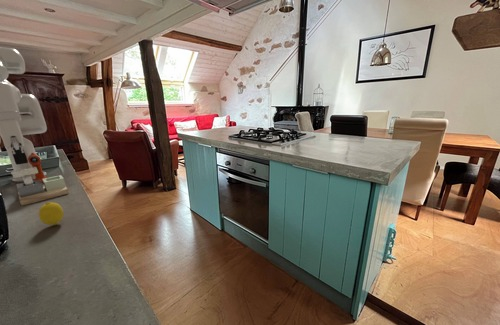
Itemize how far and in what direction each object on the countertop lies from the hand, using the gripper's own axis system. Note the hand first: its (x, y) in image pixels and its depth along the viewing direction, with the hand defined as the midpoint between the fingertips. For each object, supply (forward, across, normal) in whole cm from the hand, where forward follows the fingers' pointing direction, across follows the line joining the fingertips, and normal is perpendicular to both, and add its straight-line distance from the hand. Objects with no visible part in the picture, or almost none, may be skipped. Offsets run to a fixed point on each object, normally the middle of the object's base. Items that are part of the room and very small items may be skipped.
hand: (21, 161), depth 83 cm
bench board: (+15, -1, +3) cm, 16 cm away
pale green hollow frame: (+13, -1, +7) cm, 15 cm away
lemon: (+16, +34, +2) cm, 38 cm away
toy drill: (+15, -18, +4) cm, 24 cm away
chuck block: (+13, -1, 0) cm, 13 cm away
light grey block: (+13, -1, 0) cm, 13 cm away
